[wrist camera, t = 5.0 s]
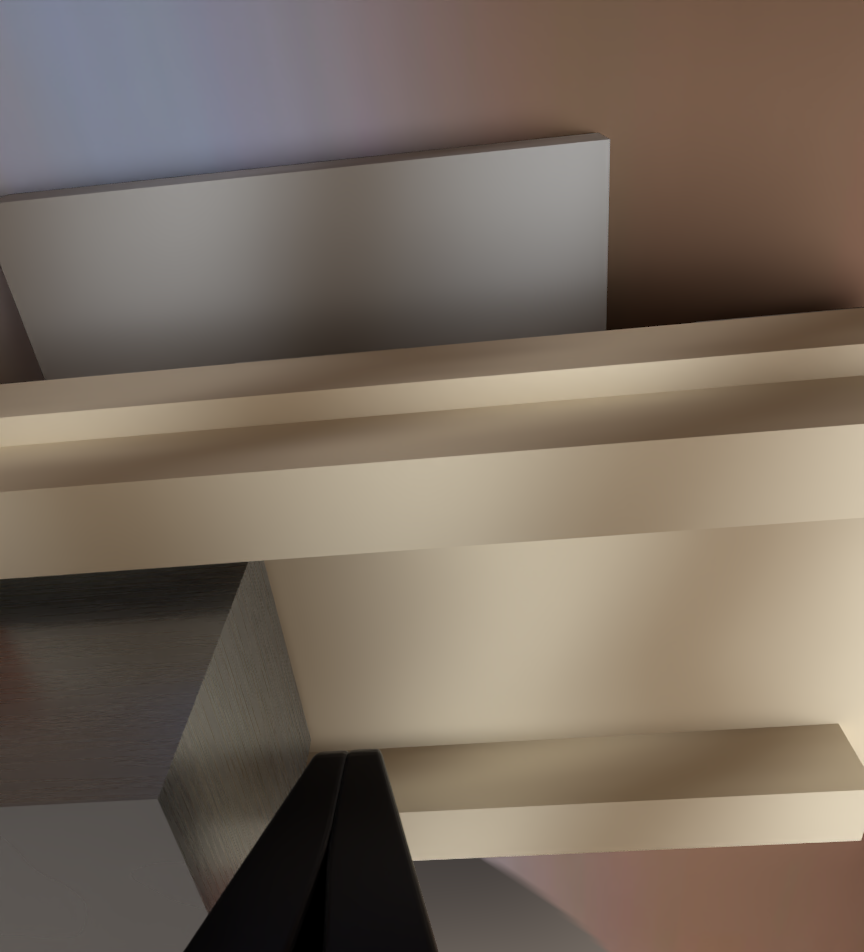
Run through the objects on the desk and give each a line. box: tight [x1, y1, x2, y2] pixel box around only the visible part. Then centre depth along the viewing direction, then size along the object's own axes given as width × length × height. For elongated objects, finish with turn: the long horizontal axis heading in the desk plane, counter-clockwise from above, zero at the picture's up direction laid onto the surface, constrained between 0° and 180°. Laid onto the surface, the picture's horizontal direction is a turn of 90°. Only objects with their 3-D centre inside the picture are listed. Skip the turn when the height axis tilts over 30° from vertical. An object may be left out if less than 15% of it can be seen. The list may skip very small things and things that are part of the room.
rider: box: [0, 560, 311, 952], centre depth 9 cm, size 5×4×4 cm
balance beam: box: [0, 133, 864, 861], centre depth 12 cm, size 22×12×6 cm, turn 96°
